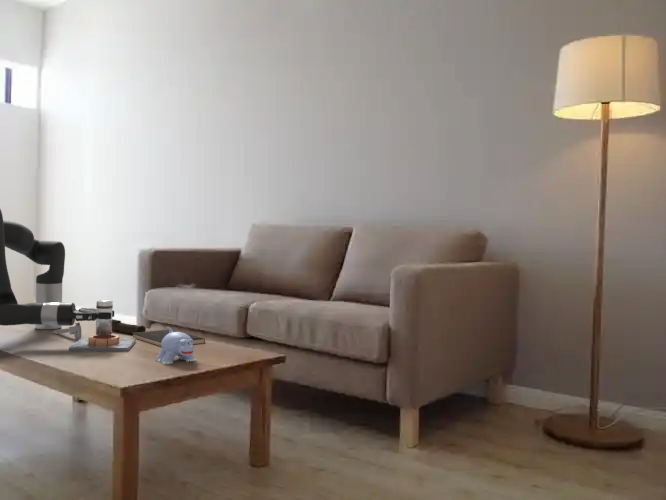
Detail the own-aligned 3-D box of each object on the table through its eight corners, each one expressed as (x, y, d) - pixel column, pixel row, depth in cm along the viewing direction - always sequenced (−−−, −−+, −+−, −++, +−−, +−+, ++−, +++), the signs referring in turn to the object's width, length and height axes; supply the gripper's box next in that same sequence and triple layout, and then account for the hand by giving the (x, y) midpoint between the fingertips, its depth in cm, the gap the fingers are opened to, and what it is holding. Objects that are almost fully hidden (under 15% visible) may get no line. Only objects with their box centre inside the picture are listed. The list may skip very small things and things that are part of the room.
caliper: (81, 341, 224) (81, 323, 224) (78, 341, 223) (78, 323, 223) (54, 333, 237) (55, 316, 237) (52, 333, 237) (52, 316, 236)
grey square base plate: (81, 341, 221) (81, 332, 221) (135, 341, 224) (135, 332, 224) (68, 351, 204) (68, 341, 203) (128, 351, 207) (128, 341, 206)
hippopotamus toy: (170, 368, 185) (171, 335, 185) (151, 359, 197) (152, 327, 197) (205, 364, 191) (206, 332, 191) (184, 355, 203) (185, 325, 203)
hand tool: (146, 335, 238) (146, 323, 238) (137, 337, 235) (137, 324, 235) (114, 330, 249) (114, 318, 249) (105, 331, 246) (105, 319, 246)
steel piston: (97, 332, 216) (98, 300, 215) (113, 333, 217) (114, 300, 216) (94, 335, 211) (95, 301, 210) (110, 335, 211) (111, 302, 211)
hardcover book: (163, 349, 215) (163, 342, 215) (131, 339, 232) (132, 332, 232) (204, 344, 226) (205, 337, 226) (172, 335, 243) (172, 329, 243)
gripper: (52, 305, 204) (109, 305, 207) (64, 300, 218) (116, 301, 221) (52, 328, 204) (108, 329, 207) (63, 322, 218) (116, 323, 221)
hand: (112, 314), depth 214 cm, fingers closed on steel piston, 5 cm apart
